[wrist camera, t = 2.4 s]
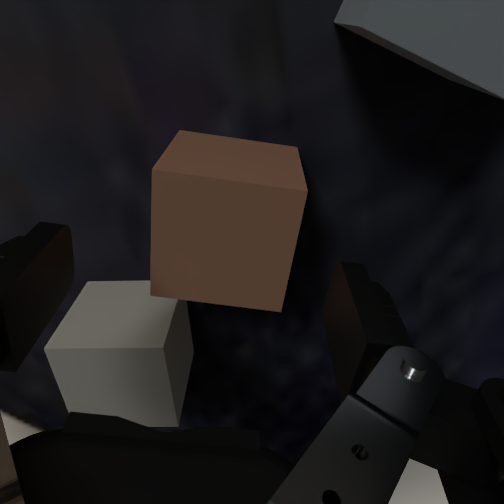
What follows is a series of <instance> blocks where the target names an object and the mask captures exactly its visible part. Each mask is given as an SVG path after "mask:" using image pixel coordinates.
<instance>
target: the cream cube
mask: <svg viewBox="0 0 504 504" xmlns="http://www.w3.org/2000/svg"><path fill="white" fill-rule="evenodd" d="M44 351H45V353H46V356H47V358H48V361H49V363H50V366H51V368H52V371H53V373H54V376H55V379H56V381H57V384H58V386H59V389H60V391H61V394H62V396H63V399H64V401H65V404H66V407H67V409H68V412H69V413H70V411H71V412H80V413H90V414H100V415H110V416H119V417H121V418H124V419H127V420H130V421H133V422H136V423H138V424H141V425H144V426H147V427H178V426H179V421H180V416H181V411H182V407H183V402H184V397H185V392H186V387H187V383H188V378H189V373H190V368H191V363H192V359H193V354H194V349H193V342H192V336H191V329H190V322H189V315H188V308H187V301H186V300H180V299H172V298H164V297H156V296H150V281H90V282H87V284H86V285H85V287H84V288H83V290H82V291H81V293H80V294H79V296H78V297H77V299H76V300H75V302H74V303H73V305H72V306H71V308H70V310H69V311H68V313H67V314H66V316H65V317H64V319H63V320H62V322H61V323H60V325H59V326H58V328H57V329H56V331H55V332H54V334H53V335H52V337H51V338H50V340H49V342H48V343H47V345H46V346H45V348H44Z"/></svg>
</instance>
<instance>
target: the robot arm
mask: <svg viewBox="0 0 504 504" xmlns="http://www.w3.org/2000/svg"><path fill="white" fill-rule="evenodd" d="M73 280H74V259H73V248H72V237H71V230H70V228H69V226H68V225H62V224H54V223H47V222H39V223H38V224H37V225H36V226H35V227H34V228H33V229H32V230H31V231H30V232H29V233H28V234H27V235H25V236H17V237H15V238H13V239H11V240H9V241H7V242H5V243H2V244H1V245H0V370H1V371H10V372H16V371H17V370H18V368H19V367H20V365H21V363H22V362H23V360H24V359H25V357H26V356H27V354H28V353H29V351H30V350H31V348H32V347H33V345H34V344H35V342H36V341H37V339H38V338H39V336H40V335H41V333H42V332H43V330H44V329H45V327H46V326H47V324H48V323H49V321H50V320H51V318H52V317H53V315H54V314H55V312H56V311H57V309H58V308H59V306H60V304H61V303H62V301H63V300H64V298H65V297H66V295H67V294H68V292H69V291H70V289H71V287H72V284H73ZM323 322H324V327H325V332H326V336H327V341H328V346H329V350H330V355H331V360H332V364H333V369H334V373H335V378H336V383H337V387H338V392H339V397H340V401H341V405H340V407H339V408H338V410H337V411H336V412H335V414H334V415H333V416H332V418H331V419H330V420H329V422H328V423H327V424H326V426H325V427H324V428H323V430H322V431H321V432H320V434H319V435H318V436H317V438H316V439H315V440H314V442H313V443H312V444H311V446H310V447H309V448H308V450H307V451H306V452H305V454H304V455H303V456H302V458H301V459H300V460H299V462H298V463H297V464H296V466H294V465H293V464H292V463H290V462H289V461H288V460H287V459H285V458H284V457H282V456H280V455H279V454H277V453H275V452H273V451H271V450H269V449H267V448H265V447H262V446H260V431H259V430H249V429H239V428H229V427H219V426H211V427H203V428H196V429H188V430H180V431H173V432H161V431H158V430H155V429H152V428H150V427H147V426H144V425H141V424H138V423H136V422H133V421H130V420H127V419H124V418H121V417H119V416H110V415H100V414H90V413H80V412H71V411H70V413H69V416H68V418H67V420H66V422H65V424H64V426H63V427H59V428H54V429H50V430H46V431H42V432H39V433H36V434H33V435H31V436H28V437H26V438H24V439H21V440H19V441H17V442H15V443H13V444H11V445H10V446H9V443H8V440H7V436H6V432H5V428H4V425H3V421H2V417H1V413H0V504H388V503H389V500H390V498H391V496H392V494H393V492H394V490H395V488H396V486H397V483H398V481H399V479H400V477H401V475H402V473H403V471H404V469H405V467H406V464H407V462H408V460H409V458H410V459H412V460H415V461H418V462H420V463H423V464H425V465H427V466H430V467H432V468H435V469H437V470H438V473H439V476H440V479H441V482H442V485H443V488H444V491H445V494H446V497H447V500H448V503H449V504H504V379H500V378H490V379H487V380H485V381H484V382H483V383H482V385H481V386H480V388H479V389H478V390H477V389H474V388H471V387H468V386H465V385H463V384H460V383H457V382H454V381H451V380H449V379H446V378H444V374H443V371H442V369H441V368H440V366H439V365H438V364H437V362H436V361H435V360H433V359H432V358H431V357H430V356H428V355H427V354H425V353H424V352H422V351H420V350H417V349H415V347H414V345H413V343H412V341H411V339H410V336H409V334H408V332H407V330H406V328H405V326H404V324H403V321H402V319H401V317H399V313H398V311H397V309H396V308H395V304H394V302H393V300H392V298H391V296H390V294H389V293H388V292H387V291H386V290H385V289H384V288H383V287H382V286H381V285H380V284H379V283H378V282H371V281H370V279H369V277H368V274H367V272H366V269H365V267H364V265H362V264H355V263H348V262H340V261H339V262H337V264H336V266H335V268H334V272H333V275H332V278H331V282H330V285H329V288H328V292H327V295H326V299H325V302H324V307H323Z"/></svg>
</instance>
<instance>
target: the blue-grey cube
mask: <svg viewBox="0 0 504 504" xmlns="http://www.w3.org/2000/svg"><path fill="white" fill-rule="evenodd" d="M334 23H336V24H338V25H340V26H342V27H344V28H346V29H348V30H350V31H352V32H354V33H356V34H358V35H360V36H362V37H364V38H366V39H368V40H370V41H372V42H374V43H376V44H378V45H380V46H382V47H384V48H386V49H388V50H390V51H392V52H394V53H396V54H398V55H400V56H402V57H404V58H406V59H408V60H410V61H412V62H414V63H416V64H418V65H420V66H422V67H424V68H426V69H428V70H430V71H432V72H434V73H436V74H438V75H440V76H442V77H444V78H446V79H449V80H451V81H454V82H457V83H459V84H462V85H465V86H467V87H470V88H473V89H476V90H478V91H481V92H484V93H486V94H489V95H492V96H494V97H497V98H500V99H503V100H504V0H344V1H343V3H342V5H341V7H340V9H339V12H338V14H337V16H336V18H335V20H334Z"/></svg>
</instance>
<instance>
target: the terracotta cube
mask: <svg viewBox="0 0 504 504" xmlns="http://www.w3.org/2000/svg"><path fill="white" fill-rule="evenodd" d="M307 193H308V190H307V185H306V181H305V177H304V173H303V169H302V165H301V161H300V157H299V152H298V148H297V147H292V146H285V145H278V144H271V143H264V142H257V141H251V140H244V139H237V138H230V137H223V136H216V135H209V134H203V133H196V132H189V131H182V130H180V131H179V132H178V133H177V135H176V136H175V138H174V139H173V140H172V142H171V143H170V145H169V146H168V147H167V149H166V150H165V152H164V153H163V155H162V156H161V157H160V159H159V160H158V162H157V163H156V164H155V166H154V167H153V169H152V206H151V278H150V296H156V297H164V298H172V299H180V300H188V301H196V302H204V303H212V304H220V305H228V306H236V307H244V308H252V309H260V310H268V311H276V312H281V310H282V306H283V301H284V297H285V292H286V288H287V283H288V279H289V274H290V270H291V265H292V260H293V256H294V251H295V247H296V242H297V238H298V233H299V229H300V224H301V220H302V215H303V211H304V206H305V202H306V197H307Z"/></svg>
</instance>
